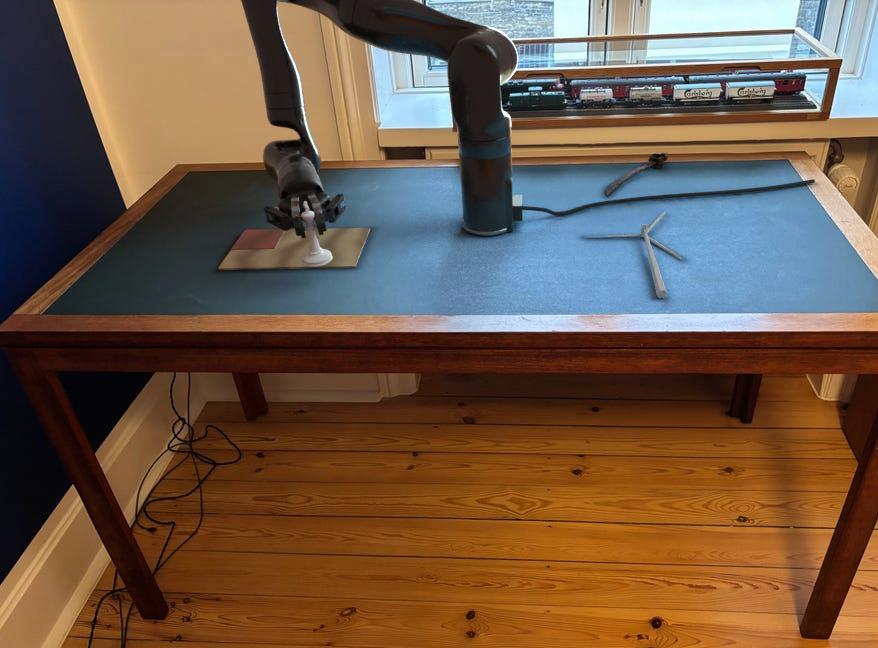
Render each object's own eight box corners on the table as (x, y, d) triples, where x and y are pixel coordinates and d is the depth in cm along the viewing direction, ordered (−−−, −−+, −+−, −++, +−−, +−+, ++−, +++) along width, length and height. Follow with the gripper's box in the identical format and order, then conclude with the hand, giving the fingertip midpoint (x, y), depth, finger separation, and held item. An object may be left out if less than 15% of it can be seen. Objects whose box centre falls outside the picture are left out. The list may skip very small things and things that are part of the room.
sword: (608, 197, 141) (609, 187, 140) (593, 193, 144) (594, 183, 142) (675, 160, 156) (676, 151, 154) (661, 157, 158) (662, 147, 157)
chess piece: (307, 269, 114) (294, 211, 108) (298, 257, 118) (285, 200, 112) (336, 261, 116) (325, 203, 110) (327, 249, 120) (315, 192, 114)
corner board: (370, 229, 135) (370, 226, 135) (355, 267, 123) (355, 265, 122) (245, 232, 136) (245, 229, 136) (218, 270, 124) (217, 267, 124)
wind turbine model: (696, 300, 110) (666, 212, 134) (697, 287, 108) (667, 200, 132) (592, 303, 111) (581, 215, 135) (593, 290, 110) (581, 204, 133)
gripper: (254, 175, 121) (260, 216, 107) (336, 162, 124) (352, 200, 110) (264, 217, 125) (271, 261, 112) (344, 203, 128) (360, 245, 115)
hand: (311, 230), depth 111 cm, fingers closed on chess piece
